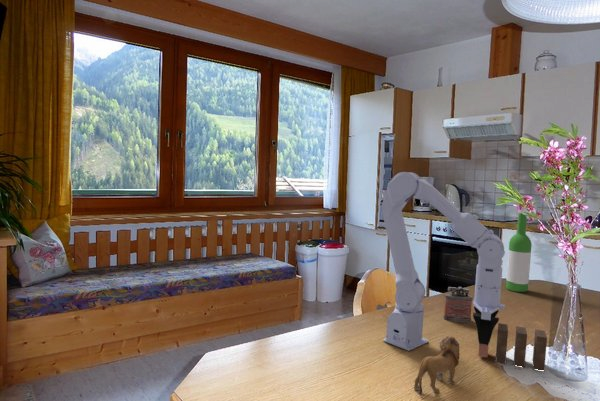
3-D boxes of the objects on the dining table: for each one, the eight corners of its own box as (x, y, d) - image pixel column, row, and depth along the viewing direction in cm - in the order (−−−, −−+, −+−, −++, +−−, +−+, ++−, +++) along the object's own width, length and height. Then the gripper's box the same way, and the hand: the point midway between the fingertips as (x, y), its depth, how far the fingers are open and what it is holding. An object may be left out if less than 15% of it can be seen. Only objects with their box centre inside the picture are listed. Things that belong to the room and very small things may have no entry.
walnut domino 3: (534, 370, 101) (537, 336, 100) (532, 361, 105) (535, 329, 105) (544, 372, 100) (547, 337, 99) (541, 363, 104) (544, 330, 104)
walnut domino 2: (514, 366, 102) (517, 332, 102) (513, 358, 107) (516, 326, 106) (524, 368, 101) (527, 334, 101) (523, 359, 106) (525, 327, 105)
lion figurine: (439, 369, 99) (442, 331, 98) (463, 378, 95) (466, 338, 94) (407, 392, 88) (410, 349, 87) (432, 403, 84) (435, 358, 84)
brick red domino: (478, 355, 105) (480, 323, 105) (479, 348, 110) (481, 317, 109) (487, 357, 104) (489, 324, 104) (487, 349, 109) (490, 318, 108)
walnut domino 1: (496, 362, 104) (498, 329, 103) (495, 354, 108) (498, 323, 108) (505, 364, 103) (508, 331, 102) (504, 356, 108) (507, 324, 107)
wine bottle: (513, 286, 175) (519, 212, 173) (532, 291, 169) (538, 214, 166) (501, 288, 172) (507, 212, 169) (519, 293, 165) (526, 214, 163)
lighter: (469, 318, 134) (471, 286, 134) (472, 322, 131) (474, 289, 130) (442, 316, 135) (444, 285, 134) (444, 320, 132) (447, 287, 131)
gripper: (507, 295, 98) (502, 354, 99) (505, 280, 111) (501, 333, 112) (473, 290, 100) (469, 348, 101) (475, 277, 114) (471, 328, 115)
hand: (483, 339), depth 107 cm, fingers closed on brick red domino, 5 cm apart
